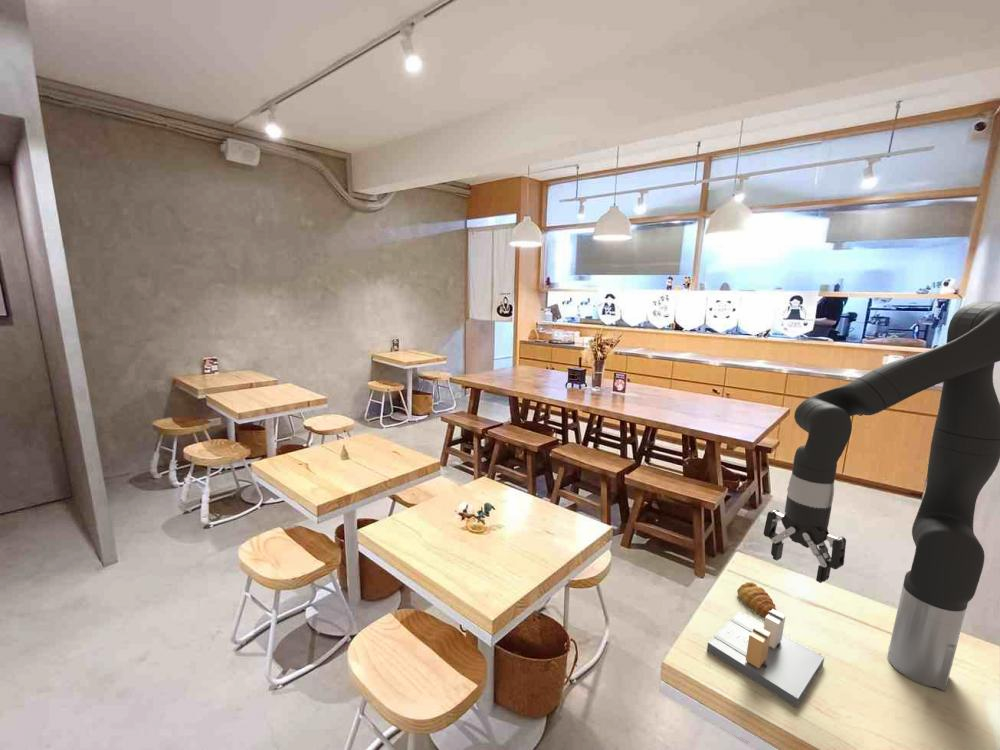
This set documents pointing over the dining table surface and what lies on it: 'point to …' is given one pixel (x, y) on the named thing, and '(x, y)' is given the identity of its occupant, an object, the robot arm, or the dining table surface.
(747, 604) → the pastry
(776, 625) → the cream fader
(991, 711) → the dining table surface
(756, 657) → the orange fader
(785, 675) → the console
